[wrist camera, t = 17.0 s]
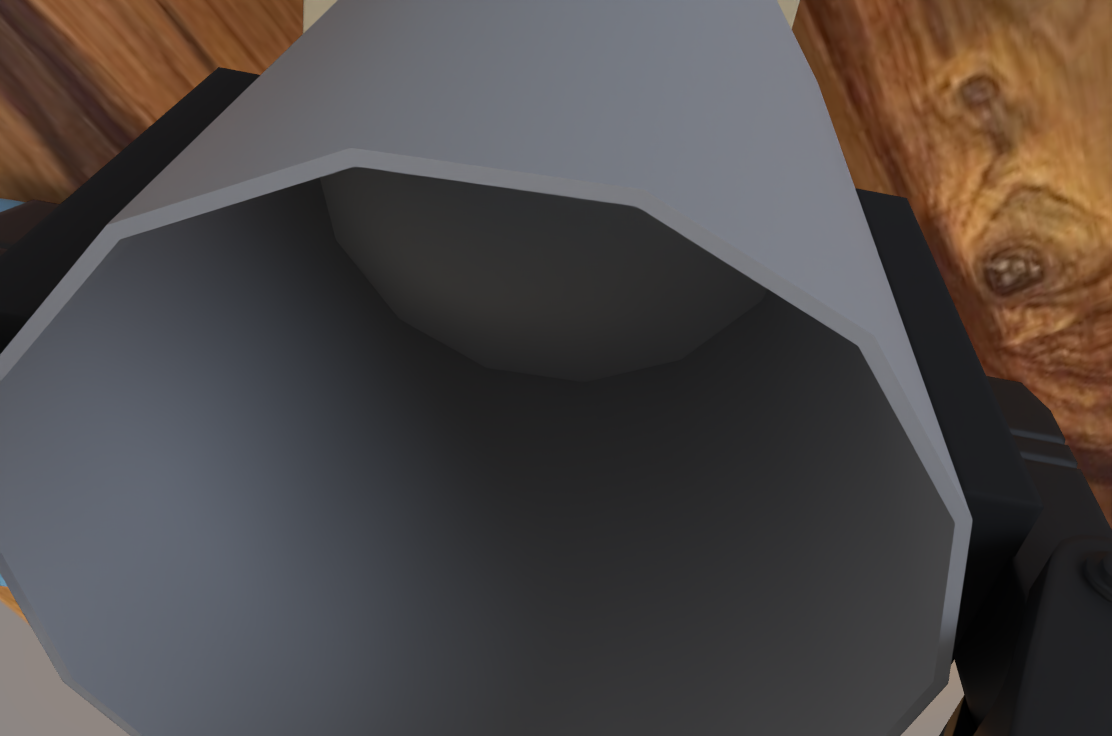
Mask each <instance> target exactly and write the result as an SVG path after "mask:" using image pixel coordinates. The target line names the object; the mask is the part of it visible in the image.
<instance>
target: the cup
mask: <svg viewBox="0 0 1112 736" xmlns="http://www.w3.org/2000/svg"><path fill="white" fill-rule="evenodd" d="M972 521H973V520H972V517H971V514H970V511H969V509H968V506H967V503H966V500H965V497H964V495H963V492H962V489H961V486H960V483H959V480H958V478H957V475H956V472H955V469H954V466H953V463H952V461H951V458H950V455H949V452H948V449H947V447H946V444H945V441H944V438H943V435H942V432H941V430H940V427H939V424H938V421H937V418H936V415H935V413H934V410H933V407H932V404H931V401H930V399H929V396H928V393H927V390H926V387H925V384H924V382H923V379H922V376H921V373H920V370H919V367H918V365H917V362H916V359H915V356H914V353H913V351H912V348H911V345H910V342H909V339H908V336H907V334H906V331H905V328H904V325H903V322H902V319H901V317H900V314H899V311H898V308H897V305H896V303H895V300H894V297H893V294H892V291H891V288H890V286H889V283H888V280H887V277H886V274H885V271H884V269H883V266H882V263H881V260H880V257H879V255H878V252H877V249H876V246H875V243H874V240H873V238H872V235H871V232H870V229H869V226H868V223H867V221H866V218H865V215H864V212H863V209H862V207H861V204H860V201H859V198H858V195H857V192H856V190H855V187H854V184H853V181H852V178H851V175H850V173H849V170H848V167H847V164H846V161H845V159H844V156H843V153H842V150H841V147H840V144H839V142H838V139H837V136H836V133H835V130H834V128H833V125H832V122H831V119H830V116H829V113H828V111H827V108H826V105H825V102H824V99H823V96H822V94H821V91H820V88H819V85H818V82H817V80H816V78H815V76H814V74H813V72H812V70H811V68H810V66H809V64H808V62H807V60H806V58H805V56H804V54H803V52H802V50H801V48H800V46H799V44H798V42H797V40H796V38H795V36H794V34H793V32H792V30H791V28H790V26H789V24H788V22H787V20H786V18H785V16H784V14H783V12H782V10H781V8H780V6H779V4H778V2H777V0H337V1H336V2H335V3H334V4H333V5H332V6H331V7H330V8H329V9H328V10H327V11H326V12H325V13H324V14H323V15H322V16H321V17H320V18H319V19H318V20H317V21H316V22H315V23H314V24H313V25H312V26H311V27H310V28H309V29H308V30H307V31H306V32H305V33H304V34H303V35H301V36H300V37H299V38H298V39H297V40H296V41H295V42H294V43H293V44H292V45H291V46H290V47H289V48H288V49H287V50H286V51H285V52H284V53H283V54H282V55H281V56H280V57H279V58H278V59H277V60H276V61H275V62H274V63H273V64H272V65H271V66H270V67H269V68H268V69H267V70H265V71H264V72H263V73H262V74H261V75H260V76H259V77H258V78H257V79H256V80H255V81H254V82H253V83H252V84H251V85H250V86H249V87H248V88H247V89H246V90H245V91H244V92H243V93H242V94H241V95H240V96H239V97H238V98H237V99H236V100H235V101H234V102H233V103H232V104H231V105H229V106H228V107H227V108H226V109H225V110H224V111H223V112H222V113H221V114H220V115H219V116H218V117H217V118H216V119H215V120H214V121H213V122H212V123H211V124H210V125H209V126H208V127H207V128H206V129H205V130H204V131H203V132H202V133H201V134H200V135H199V136H198V137H197V138H196V139H195V140H193V141H192V142H191V143H190V144H189V145H188V146H187V147H186V148H185V149H184V150H183V151H182V152H181V153H180V154H179V155H178V156H177V157H176V158H175V159H174V160H173V161H172V162H171V163H170V164H169V165H168V166H167V167H166V168H165V169H164V170H163V171H162V172H161V173H160V174H159V175H157V176H156V177H155V178H154V179H153V180H152V181H151V182H150V183H149V184H148V185H147V186H146V187H145V188H144V189H143V190H142V191H141V192H140V193H139V194H138V195H137V196H136V197H135V198H134V199H133V200H132V201H131V202H130V203H129V204H128V205H127V206H126V207H125V208H124V209H123V210H121V211H120V212H119V213H118V214H117V215H116V216H115V217H114V218H113V219H112V220H111V221H110V222H109V223H108V224H107V225H106V226H105V227H104V229H103V230H102V231H101V232H100V234H99V235H98V236H97V237H96V238H95V240H94V241H93V242H92V243H91V245H90V246H89V247H88V248H87V249H86V251H85V252H84V253H83V254H82V256H81V257H80V258H79V259H78V260H77V262H76V263H75V264H74V265H73V267H72V268H71V269H70V270H69V271H68V273H67V274H66V275H65V276H64V277H63V279H62V280H61V281H60V282H59V284H58V285H57V286H56V287H55V288H54V290H53V291H52V292H51V293H50V295H49V296H48V297H47V298H46V299H45V301H44V302H43V303H42V304H41V306H40V307H39V308H38V309H37V310H36V312H35V313H34V314H33V315H32V317H31V318H30V319H29V320H28V321H27V323H26V324H25V325H24V326H23V327H22V329H21V330H20V331H19V332H18V334H17V335H16V336H15V337H14V338H13V340H12V341H11V342H10V343H9V345H8V346H7V347H6V348H5V349H4V351H3V352H2V353H1V354H0V574H1V576H2V577H3V579H4V581H5V583H6V584H7V586H8V588H9V589H10V591H11V593H12V595H13V596H14V598H15V600H16V602H17V603H18V605H19V607H20V608H21V610H22V612H23V614H24V615H25V617H26V619H27V621H28V622H29V624H30V626H31V627H32V629H33V631H34V633H35V634H36V636H37V638H38V639H39V641H40V643H41V645H42V646H43V648H44V650H45V651H46V653H47V655H48V657H49V658H50V660H51V662H52V664H53V665H54V667H55V669H56V671H57V672H58V674H59V676H60V678H61V679H62V681H63V682H64V683H65V684H67V685H68V686H69V687H70V688H72V689H73V690H74V691H75V692H77V693H78V694H79V695H80V696H82V697H83V698H84V699H85V700H87V701H88V702H89V703H90V704H92V705H93V706H94V707H95V708H97V709H98V710H99V711H100V712H102V713H103V714H104V715H105V716H107V717H108V718H109V719H110V720H112V721H113V722H114V723H116V724H117V725H118V726H119V727H120V728H122V729H123V730H124V731H125V732H127V733H128V734H129V735H130V736H900V735H901V734H902V733H903V732H904V731H905V730H906V729H907V728H908V727H909V726H910V725H911V724H912V722H913V721H914V720H915V719H916V718H917V717H918V716H919V715H920V714H921V712H922V711H923V710H924V709H925V708H926V707H927V706H928V705H929V704H930V703H931V702H932V701H933V700H934V698H935V697H936V696H937V695H938V694H939V693H940V692H941V691H942V690H943V689H944V688H945V687H946V685H947V684H948V681H949V674H950V667H951V661H952V654H953V648H954V641H955V634H956V628H957V621H958V614H959V608H960V601H961V594H962V588H963V581H964V574H965V568H966V561H967V554H968V548H969V541H970V534H971V528H972Z"/></svg>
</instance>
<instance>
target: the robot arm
mask: <svg viewBox="0 0 1112 736" xmlns="http://www.w3.org/2000/svg"><path fill="white" fill-rule="evenodd" d="M259 76H260V75H257V74H252V73H247V72H241V71H236V70H231V69H226V68H220V67H218V68H217V69H216V70H215V71H214V72H213V73H212V74H210V75H209V76H208V77H207V78H206V79H205V80H203V81H202V82H201V83H200V84H199V85H198V86H196V87H195V88H194V89H193V90H192V91H191V92H190V93H188V94H187V95H186V96H185V97H184V98H183V99H181V100H180V101H179V102H178V103H177V104H176V105H175V106H173V107H172V108H171V109H170V110H169V111H168V112H166V113H165V114H164V115H163V116H162V117H161V118H159V119H158V120H157V121H156V122H155V123H154V124H153V125H151V126H150V127H149V128H148V129H147V130H146V131H144V132H143V133H142V134H141V135H140V136H139V137H138V138H136V139H135V140H134V141H133V142H132V143H131V144H129V145H128V146H127V147H126V148H125V149H124V150H122V151H121V152H120V153H119V154H118V155H117V156H116V157H114V158H113V159H112V160H111V161H110V162H109V163H107V164H106V165H105V166H104V167H103V168H102V169H100V170H99V171H98V172H97V173H96V174H95V175H94V176H92V177H91V178H90V179H89V180H88V181H87V182H85V183H84V184H83V185H82V186H81V187H80V188H79V189H77V190H76V191H75V192H74V193H73V194H72V195H70V196H69V197H68V198H67V199H66V200H65V201H63V202H62V203H61V204H55V203H49V202H44V201H39V200H31V201H28V202H26V203H23V204H21V205H18V206H15V207H13V208H10V209H7V210H5V211H2V212H0V354H1V353H2V352H3V351H4V349H5V348H6V347H7V346H8V345H9V343H10V342H11V341H12V340H13V338H14V337H15V336H16V335H17V334H18V332H19V331H20V330H21V329H22V327H23V326H24V325H25V324H26V323H27V321H28V320H29V319H30V318H31V317H32V315H33V314H34V313H35V312H36V310H37V309H38V308H39V307H40V306H41V304H42V303H43V302H44V301H45V299H46V298H47V297H48V296H49V295H50V293H51V292H52V291H53V290H54V288H55V287H56V286H57V285H58V284H59V282H60V281H61V280H62V279H63V277H64V276H65V275H66V274H67V273H68V271H69V270H70V269H71V268H72V267H73V265H74V264H75V263H76V262H77V260H78V259H79V258H80V257H81V256H82V254H83V253H84V252H85V251H86V249H87V248H88V247H89V246H90V245H91V243H92V242H93V241H94V240H95V238H96V237H97V236H98V235H99V234H100V232H101V231H102V230H103V229H104V227H105V226H106V225H107V224H108V223H109V222H110V221H111V220H112V219H113V218H114V217H115V216H116V215H117V214H118V213H119V212H120V211H121V210H123V209H124V208H125V207H126V206H127V205H128V204H129V203H130V202H131V201H132V200H133V199H134V198H135V197H136V196H137V195H138V194H139V193H140V192H141V191H142V190H143V189H144V188H145V187H146V186H147V185H148V184H149V183H150V182H151V181H152V180H153V179H154V178H155V177H156V176H157V175H159V174H160V173H161V172H162V171H163V170H164V169H165V168H166V167H167V166H168V165H169V164H170V163H171V162H172V161H173V160H174V159H175V158H176V157H177V156H178V155H179V154H180V153H181V152H182V151H183V150H184V149H185V148H186V147H187V146H188V145H189V144H190V143H191V142H192V141H193V140H195V139H196V138H197V137H198V136H199V135H200V134H201V133H202V132H203V131H204V130H205V129H206V128H207V127H208V126H209V125H210V124H211V123H212V122H213V121H214V120H215V119H216V118H217V117H218V116H219V115H220V114H221V113H222V112H223V111H224V110H225V109H226V108H227V107H228V106H229V105H231V104H232V103H233V102H234V101H235V100H236V99H237V98H238V97H239V96H240V95H241V94H242V93H243V92H244V91H245V90H246V89H247V88H248V87H249V86H250V85H251V84H252V83H253V82H254V81H255V80H256V79H257V78H258V77H259ZM855 190H856V192H857V195H858V198H859V201H860V204H861V207H862V209H863V212H864V215H865V218H866V221H867V223H868V226H869V229H870V232H871V235H872V238H873V240H874V243H875V246H876V249H877V252H878V255H879V257H880V260H881V263H882V266H883V269H884V271H885V274H886V277H887V280H888V283H889V286H890V288H891V291H892V294H893V297H894V300H895V303H896V305H897V308H898V311H899V314H900V317H901V319H902V322H903V325H904V328H905V331H906V334H907V336H908V339H909V342H910V345H911V348H912V351H913V353H914V356H915V359H916V362H917V365H918V367H919V370H920V373H921V376H922V379H923V382H924V384H925V387H926V390H927V393H928V396H929V399H930V401H931V404H932V407H933V410H934V413H935V415H936V418H937V421H938V424H939V427H940V430H941V432H942V435H943V438H944V441H945V444H946V447H947V449H948V452H949V455H950V458H951V461H952V463H953V466H954V469H955V472H956V475H957V478H958V480H959V483H960V486H961V489H962V492H963V495H964V497H965V500H966V503H967V506H968V509H969V511H970V514H971V517H972V520H973V521H972V528H971V534H970V541H969V548H968V554H967V561H966V568H965V574H964V581H963V588H962V594H961V601H960V608H959V614H958V621H957V628H956V634H955V641H954V648H953V654H952V661H951V664H952V663H953V661H954V659H955V663H956V666H957V670H958V673H959V677H960V680H961V684H962V687H963V691H964V694H965V695H964V697H963V698H962V700H961V701H960V703H959V704H958V706H957V708H956V709H955V711H954V712H953V715H952V716H951V717H950V719H949V721H948V722H947V724H946V725H945V727H944V729H943V730H942V732H941V734H940V735H939V736H1112V530H1111V528H1110V526H1109V524H1108V522H1107V520H1106V518H1105V516H1104V514H1103V512H1102V510H1101V508H1100V506H1099V504H1098V502H1097V500H1096V498H1095V497H1094V495H1093V493H1092V491H1091V489H1090V487H1089V485H1088V483H1087V481H1086V479H1085V477H1084V475H1083V473H1082V471H1081V469H1077V464H1078V463H1077V461H1076V459H1075V457H1074V456H1073V454H1072V452H1071V450H1070V448H1069V446H1068V445H1064V443H1065V438H1064V436H1063V434H1062V432H1061V430H1060V428H1059V426H1058V424H1057V422H1056V420H1055V418H1054V416H1053V415H1052V413H1051V411H1050V410H1049V409H1048V408H1047V407H1046V406H1045V405H1044V404H1043V403H1042V402H1041V401H1040V400H1039V399H1038V398H1037V397H1036V396H1035V395H1034V394H1033V393H1032V392H1030V391H1029V390H1028V389H1027V388H1026V387H1025V386H1024V385H1023V384H1022V383H1021V382H1016V381H1010V380H1005V379H1000V378H994V377H989V376H986V375H985V373H984V370H983V368H982V366H981V364H980V361H979V359H978V357H977V355H976V352H975V350H974V348H973V346H972V343H971V341H970V339H969V337H968V335H967V332H966V330H965V328H964V326H963V323H962V321H961V319H960V317H959V314H958V312H957V310H956V308H955V305H954V303H953V301H952V299H951V296H950V294H949V292H948V290H947V287H946V285H945V283H944V281H943V278H942V276H941V274H940V272H939V269H938V267H937V265H936V263H935V260H934V258H933V256H932V254H931V251H930V249H929V247H928V245H927V242H926V240H925V238H924V236H923V233H922V231H921V229H920V227H919V224H918V222H917V220H916V218H915V216H914V213H913V211H912V209H911V207H910V204H909V202H908V200H907V198H903V197H898V196H893V195H887V194H882V193H877V192H872V191H866V190H861V189H856V188H855Z"/></svg>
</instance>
